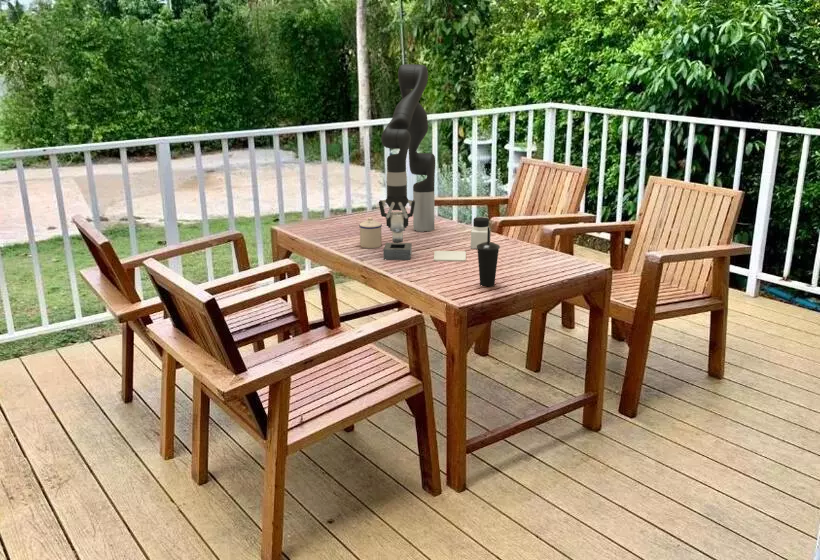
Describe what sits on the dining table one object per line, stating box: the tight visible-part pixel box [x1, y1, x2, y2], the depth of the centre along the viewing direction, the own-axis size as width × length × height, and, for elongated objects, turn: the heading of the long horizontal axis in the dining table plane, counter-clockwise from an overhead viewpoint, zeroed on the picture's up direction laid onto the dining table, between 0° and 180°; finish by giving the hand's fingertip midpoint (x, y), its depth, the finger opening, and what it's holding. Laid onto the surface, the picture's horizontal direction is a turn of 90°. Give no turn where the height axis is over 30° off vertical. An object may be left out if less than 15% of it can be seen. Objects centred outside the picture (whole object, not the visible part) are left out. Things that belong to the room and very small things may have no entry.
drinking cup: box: [476, 226, 501, 287], centre depth 246 cm, size 8×8×20 cm
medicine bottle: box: [470, 216, 492, 250], centre depth 294 cm, size 7×7×12 cm
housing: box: [382, 242, 413, 261], centre depth 283 cm, size 10×10×4 cm
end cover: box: [389, 211, 406, 243], centre depth 280 cm, size 6×6×11 cm
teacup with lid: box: [358, 216, 383, 249], centre depth 298 cm, size 12×9×12 cm
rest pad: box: [433, 250, 467, 262], centre depth 282 cm, size 12×12×1 cm
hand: (397, 227), depth 280 cm, fingers closed on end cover, 5 cm apart
